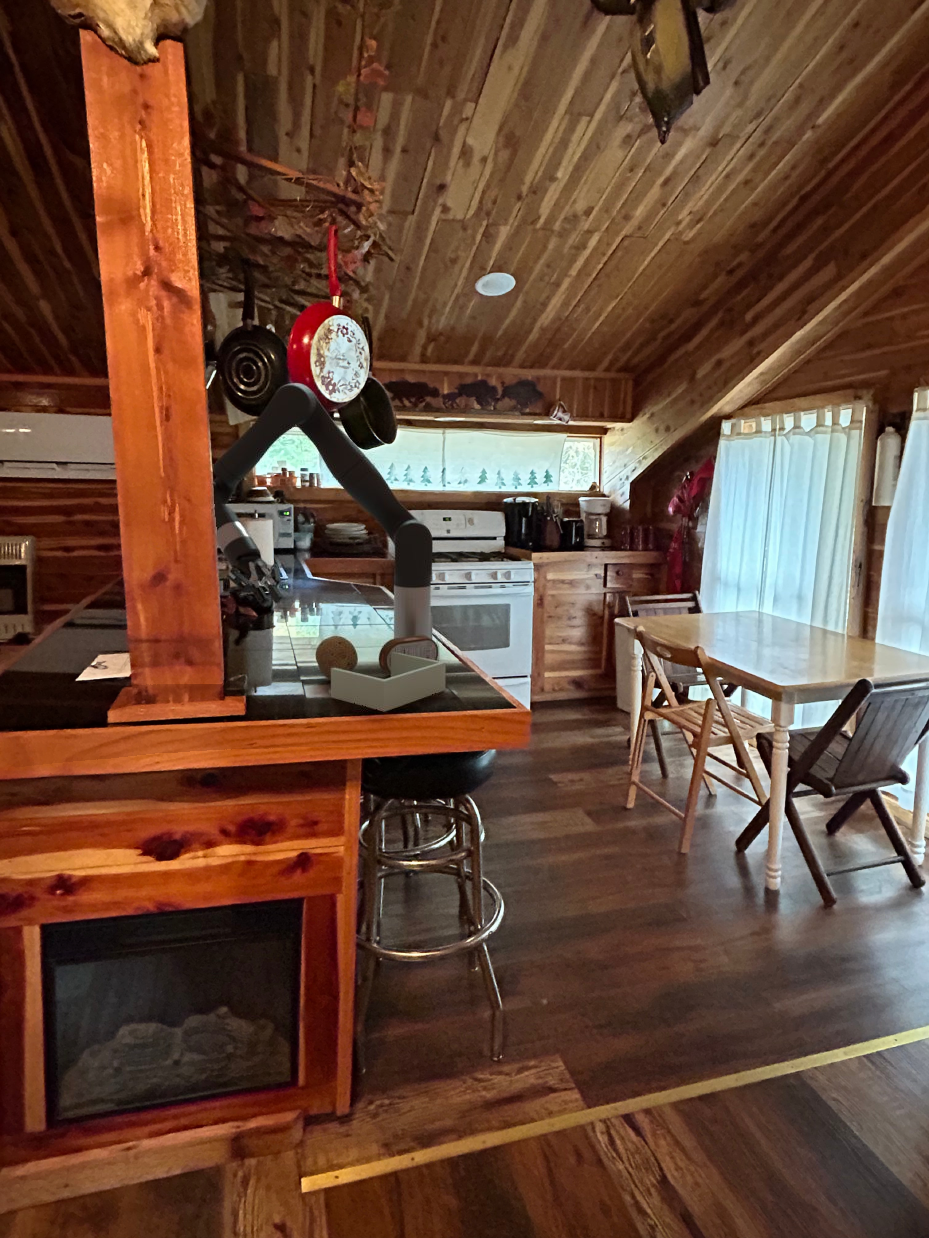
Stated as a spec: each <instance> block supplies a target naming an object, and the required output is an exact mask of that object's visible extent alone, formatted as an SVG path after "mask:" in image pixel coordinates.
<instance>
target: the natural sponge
mask: <svg viewBox="0 0 929 1238" xmlns="http://www.w3.org/2000/svg"><path fill="white" fill-rule="evenodd" d="M358 658H359V657H358V652H357V650H356V648H355V646H354V644H352V642H351V641H350V640H348V639H347V638H345V637H343V636H340V635H332V636H330V637H326V638H324V639H322V641H321V642H320V643H319V644H318V646H317V647H316V650H315V661H316V663H317V666H318V668H319V670H320V672H321V673H322V674H323V676H324V677H326V678H327V679H328V680H329V681H331V668H338V669H342V670H346V671H351V672H353V670H354V669H355V668H356V667H357V665H358Z"/></svg>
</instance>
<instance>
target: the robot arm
mask: <svg viewBox="0 0 929 1238" xmlns="http://www.w3.org/2000/svg"><path fill="white" fill-rule="evenodd" d="M294 427H297V428H298V429H299V430H300V431H301V432H302V433H303V434H304V435H305V436H306V437H307V438H308V439H309V440H310V442H312V444H313V445H314V446H315V448H316V449H317V451H318V453H319V455H320V457H321V458H322V460H323V462H324V464H325V466H326V468H327V470H328V471H329V472H330V473H331V475H332V476H333V479H335V480H336V481H337V483H339V485H340V487H342V488H343V490H344V491H345V492H346V493H347V494H348V495H349V496H350V497H351V498H352V499H353V500H354V501H355V502H356V503H357V504H358V505H359V506H360V507H361V508H363V509H364V510H365V511H366V512H367V513H369V514H370V515H371V516H372V517H373V518H374V519H375V520H376V521H377V522H378V523H379V525H380V526H381V528H382V529H383V530H384V531H385V533H386V534H387V536H388V537H389V539H390V540H391V542H392V543H393V545H394V572H393V639H394V638H403V637H411V636H419V635H424V636H427V637H429V638H430V639H432V640H433V613H431V604H432V603H431V599H432V598H431V593H432V592H431V591H432V587H431V586H432V585H431V581H432V573H433V553H434V552H433V549H434V547H433V536H432V532H431V531H430V529H429V527H427V526H426V525H425V524H424V523H422V522H421V521H420V520H418V519H417V518H416V517H415V516H414V515H413V514H412V513H411V512H410V511H409V510H408V509H407V508H406V507H405V506H404V505H403V504H402V503H401V502H400V501H399V500H398V498H397V497H396V495H395V494H394V493H393V491H392V490H391V488H390V486H389V485H388V483H387V481H386V479H385V478H384V476H383V475H382V474H381V473H380V471H379V469H377V467H376V466H375V465H374V464H373V462H372V461H371V460H370V459H369V458H368V457H367V456H366V454H364V452H363V451H362V450H361V449H360V448H359V447H358V446H357V445H356V444H355V442H354V441H353V440H352V439H351V438H350V437H349V436H348V435H347V434H346V433H345V432H344V431H343V430H342V429H341V428H340V427H339V426H338V425H337V424H336V423H335V421H334V420H333V419H332V417H331V416H330V414H329V413H328V412H327V410H326V409H325V407H324V406H323V404H322V403H321V402H320V400H319V399H318V397H317V395H316V394H315V393H314V391H312V389H311V388H309V387H308V386H307V385H305V384H303V383H298V382H293V383H287V384H284V385H282V386H280V387H279V388H278V389H277V390H276V391H275V393H274V395H273V396H272V398H271V400H270V401H269V402H268V404H267V406H266V407H265V409H264V410H263V411H262V413H261V414H260V415H259V416H258V418H257V419H256V420H255V421H254V423H253V424H252V425H251V426H250V427H249V428H248V429H247V430H246V431H245V432H244V433H243V434H242V435H241V436H240V437H239V438H238V439H237V440H236V441H235V442H234V443H233V444H232V445H231V446H230V447H228V449H227V450H226V451H224V453H222V455H221V456H220V457H218V459H217V460H216V461H215V462H214V464H213V468H212V470H213V472H214V475H216V478H214V480H212V481H213V484H214V504H215V517H216V527H217V541H216V543H217V545H218V546H219V549H220V551H221V552H222V553H223V555H224V557H225V558H226V560H227V562H228V564H229V565H230V567H231V569H230V570H229V572H228V573H227V575H226V577H227V578H228V579H229V580H230V581H231V582H233V584H235V586H237V587H238V588H239V589H240V590H241V591H242V592H243V593H248V592H249V593H251V594H252V595H254V597H255V598H256V600H257V602H258V603H259V604H260V605H261V606H266V605H267V603H268V602H269V598H268V596H267V594H266V593H265V591H264V590H263V588H262V587H261V586H263V587H264V588H265V589H266V590H267V591H268V594H269V595H270V598H271V599H272V600H273V602H274V604H279V603H280V602H281V601H282V599H283V595H282V593H281V592H280V590H279V589H278V586H279V585H280V583H281V582H282V579H281V575H280V569H279V566H278V564H277V563H273V564H272V565H271V564H269V563H268V564H267V562H266V561H265V560H264V559H263V558H262V553H261V551H260V549H259V548H258V546H257V544H256V542H255V541H254V539H253V538H252V536H251V535H250V533H249V532H248V530H247V529H246V528H245V527H244V525H243V524H242V523H241V521H240V519H239V517H238V516H237V514H236V513H235V512H234V510H233V509H232V508H230V507H229V506H228V505H227V504H228V503H229V500H230V499H231V497H232V495H233V493H234V492H235V490H236V488H237V486H238V484H239V483H240V482H241V481H242V480H243V479H244V478H246V476H247V475H248V474H249V473H250V472H251V471H252V470H253V469H254V468H255V467H256V465H258V463H260V461H261V459H262V458H263V457H264V456H265V454H266V452H268V450H269V449H270V448H271V447H272V446H273V445H274V444H275V442H276V441H278V439H280V438H281V437H282V436H283V435H285V434H286V433H287V432H289V431H290V430H291V429H293V428H294Z"/></svg>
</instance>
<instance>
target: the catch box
mask: <svg viewBox="0 0 929 1238" xmlns="http://www.w3.org/2000/svg"><path fill="white" fill-rule="evenodd" d="M446 670H447V669H446V662H445V661H440V660H437V661H436V660H431V659H426V658H421V657H416V656H411V655H407V654H402V653H397V652H392V653H391V674H390V677H388V678H379V677H375V676H371V675H366V674H363V673H358V672H353V671H346V670H342V669H338V668H331V680H330V697H331V699H332V698H333V699H336V700H340V701H344V702H348V703H350V704H354V703H355V705H358V706H362V705H363V706H362V707H365V706H366V708H370V709H372V710H373V709H374V710H376V709H377V711H380V712H387V711H390V710H392V709H395V708H399V707H402V706H404V705H406V704H410V703H412V702H415V701H418V700H421V699H423V698H427V697H429V696H432V694H433V695H435V693H436V694H438V693H441V692H444V691H446Z"/></svg>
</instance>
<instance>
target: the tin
mask: <svg viewBox="0 0 929 1238" xmlns="http://www.w3.org/2000/svg"><path fill="white" fill-rule="evenodd" d="M392 652H397V653H402V654H407V655H411V656H416V657H421V658H426V659H431V660H436V661H438V657H439V646H438V644H437V642H436V641H435V640H434V639H433V638H432V639H430V638H429V637H427V636H424V635H419V636H411V637H403V638H394V637H393V638H391V639H389V640H388V641H386V643H384V644H383V646H382V647H381V648H380V651H379V654H378V664H379V668H380V669H381V670H382V671H383V672H385V673H386V674H389V675H391V653H392Z"/></svg>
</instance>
